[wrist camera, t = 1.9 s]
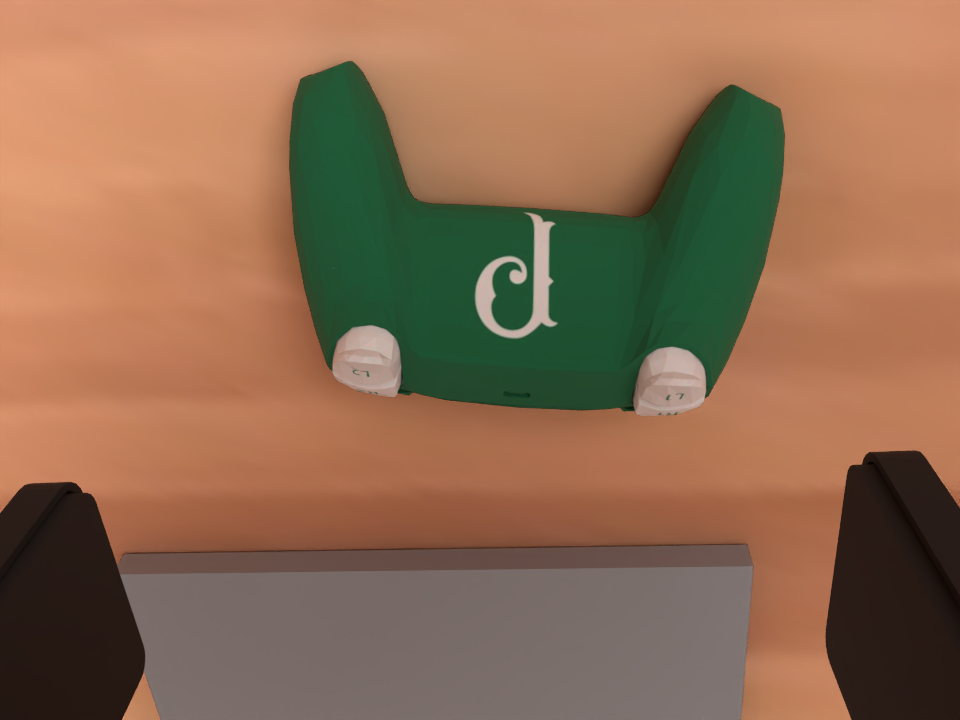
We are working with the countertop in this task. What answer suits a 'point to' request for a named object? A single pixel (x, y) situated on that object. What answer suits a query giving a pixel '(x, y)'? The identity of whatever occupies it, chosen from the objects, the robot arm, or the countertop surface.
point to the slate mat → (445, 633)
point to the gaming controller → (529, 267)
